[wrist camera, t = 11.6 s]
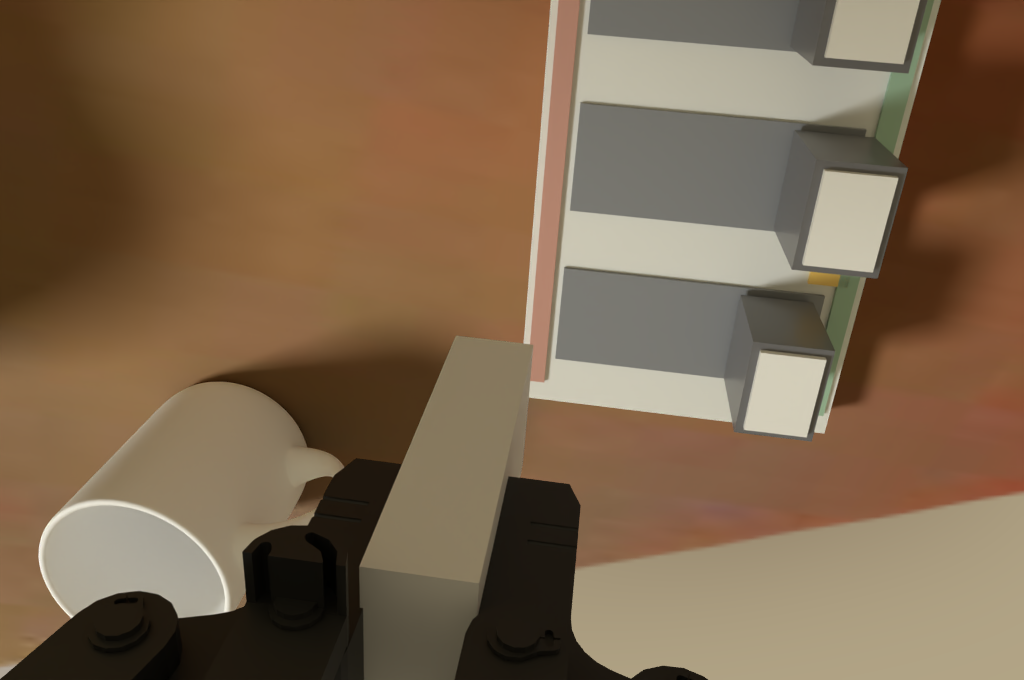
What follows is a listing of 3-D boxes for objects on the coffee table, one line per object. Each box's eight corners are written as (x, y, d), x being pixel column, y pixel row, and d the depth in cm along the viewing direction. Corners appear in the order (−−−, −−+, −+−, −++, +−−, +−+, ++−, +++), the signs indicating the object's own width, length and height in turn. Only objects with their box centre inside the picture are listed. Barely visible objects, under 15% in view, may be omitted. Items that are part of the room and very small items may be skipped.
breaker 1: (723, 377, 38) (734, 435, 34) (740, 294, 36) (754, 344, 32) (793, 385, 38) (812, 444, 34) (813, 302, 36) (836, 354, 32)
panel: (524, 376, 42) (519, 398, 40) (588, -410, 29) (585, -434, 27) (816, 410, 41) (825, 435, 39) (1025, -393, 27) (1055, -416, 26)
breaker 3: (773, 228, 35) (792, 272, 31) (794, 130, 33) (818, 161, 29) (849, 236, 35) (879, 281, 30) (875, 137, 33) (910, 170, 29)
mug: (390, 503, 47) (327, 653, 37) (189, 514, 49) (81, 659, 39) (353, 363, 43) (273, 489, 34) (138, 381, 45) (5, 505, 36)
